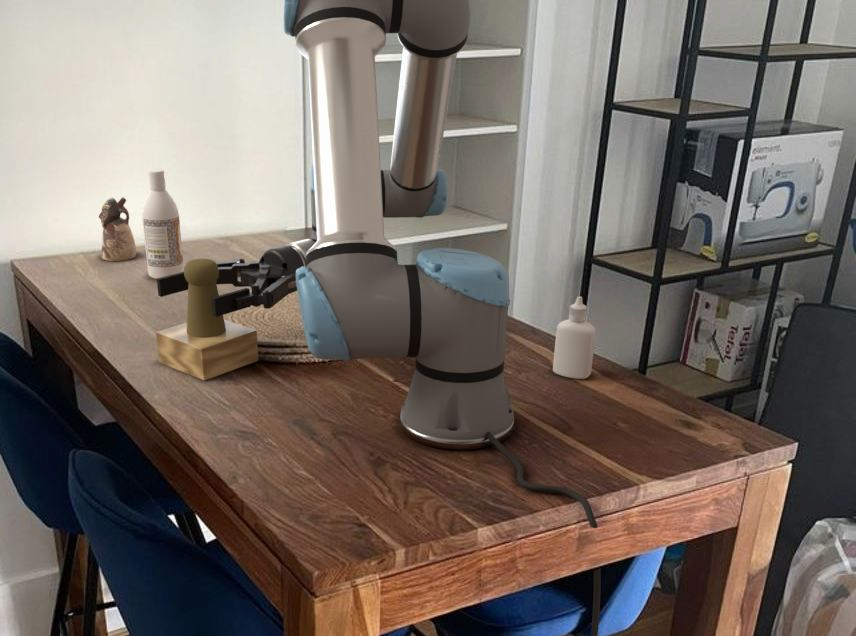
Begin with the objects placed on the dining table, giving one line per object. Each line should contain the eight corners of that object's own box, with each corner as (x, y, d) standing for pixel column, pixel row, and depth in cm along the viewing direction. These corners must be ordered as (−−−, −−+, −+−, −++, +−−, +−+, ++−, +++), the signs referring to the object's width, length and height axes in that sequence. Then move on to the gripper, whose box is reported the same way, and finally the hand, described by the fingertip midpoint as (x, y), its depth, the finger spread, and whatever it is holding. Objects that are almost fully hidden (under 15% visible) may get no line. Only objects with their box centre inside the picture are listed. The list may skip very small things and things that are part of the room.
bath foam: (185, 279, 197) (176, 173, 187) (149, 281, 196) (137, 174, 186) (183, 269, 203) (173, 165, 193) (147, 271, 202) (136, 167, 192)
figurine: (103, 252, 214) (96, 194, 208) (138, 251, 215) (131, 193, 209) (100, 261, 208) (92, 202, 202) (135, 260, 208) (128, 201, 202)
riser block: (258, 360, 159) (256, 330, 157) (204, 380, 152) (201, 349, 150) (213, 344, 166) (210, 314, 163) (159, 362, 159) (155, 332, 156)
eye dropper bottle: (571, 365, 156) (579, 289, 151) (595, 377, 152) (604, 300, 146) (548, 370, 155) (555, 294, 149) (571, 383, 150) (579, 304, 144)
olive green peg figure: (218, 338, 153) (213, 267, 148) (180, 336, 154) (174, 265, 149) (231, 325, 159) (226, 255, 153) (194, 323, 160) (188, 253, 154)
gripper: (345, 307, 159) (240, 341, 145) (243, 275, 174) (140, 303, 161) (345, 259, 155) (237, 290, 142) (241, 231, 170) (134, 256, 157)
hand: (185, 297), depth 151 cm, fingers open, 13 cm apart
